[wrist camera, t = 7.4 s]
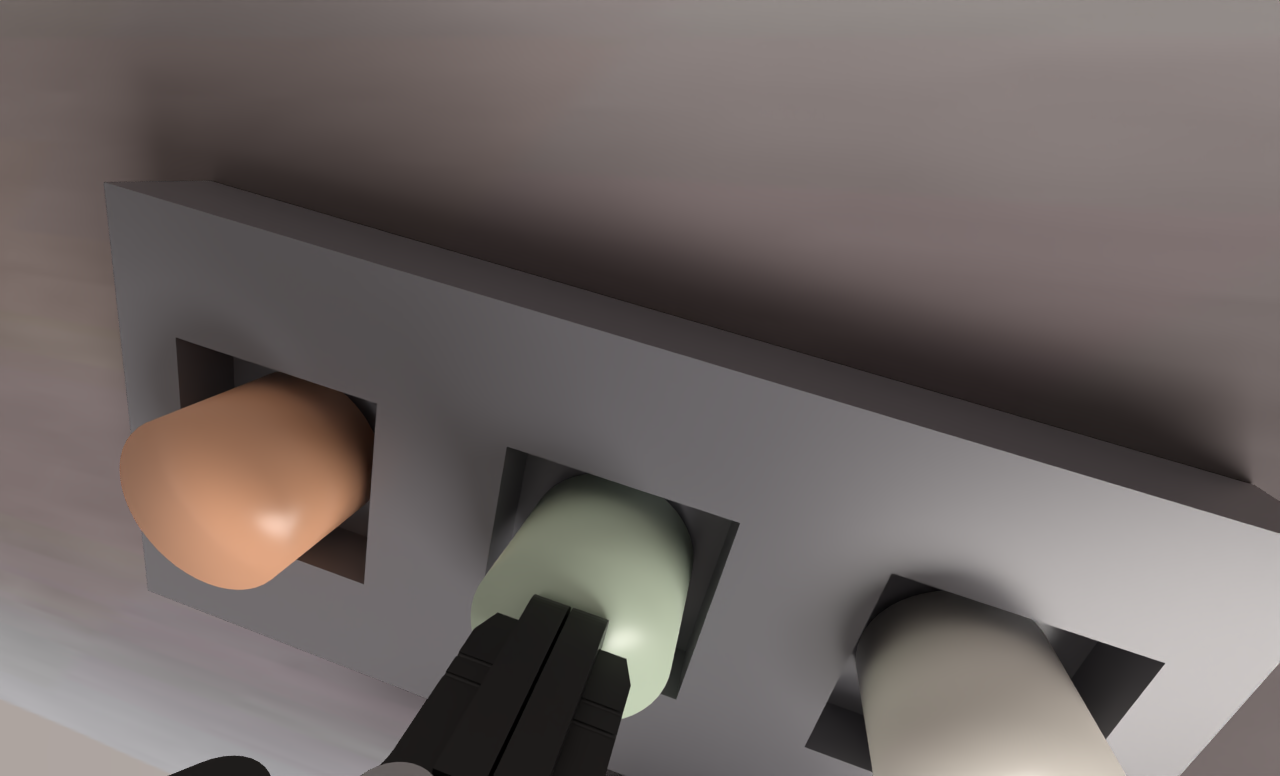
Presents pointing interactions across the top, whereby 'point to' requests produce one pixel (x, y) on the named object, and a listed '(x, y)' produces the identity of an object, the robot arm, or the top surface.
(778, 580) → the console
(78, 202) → the top surface
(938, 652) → the ivory button
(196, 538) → the orange button
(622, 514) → the sage button
